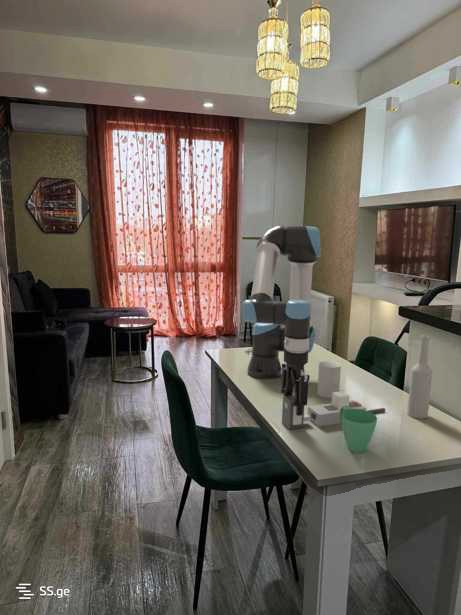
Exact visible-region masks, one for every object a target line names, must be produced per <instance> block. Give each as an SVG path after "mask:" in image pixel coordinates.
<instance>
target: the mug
mask: <svg viewBox="0 0 461 615" xmlns="http://www.w3.org/2000/svg"><path fill="white" fill-rule="evenodd" d="M341 422H342V423H341V425H342V432H343V435H344V440H345V444H346V446H347V448H348V450H349V451H351V452H354V453H361V454H362V453H364V452H365V451H366V449H367V448H368V446H369V444H370V442H371V439H372V437H373V435H374V432H375V429H376V426H377V422H378V417H377V416H376V414H375V413H371V412H368V411H365V410H361V409H351V408H350V407H349V406H343V407H342V409H341Z"/></svg>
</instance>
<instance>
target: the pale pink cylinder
mask: <svg viewBox="0 0 461 615" xmlns="http://www.w3.org/2000/svg"><path fill="white" fill-rule="evenodd" d="M341 367H342V365H341V363H339V362H336V361H330V360H329V361H328V360H326V361H325V360H323V361H320V362H319V363H318V373H317V374H318V377H317V393H316V394H317V395H318V396H319V397H321V398H325V399H332V393H333V392H340V387H341V386H340V384H341V370H342V368H341Z"/></svg>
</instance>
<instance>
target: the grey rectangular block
mask: <svg viewBox="0 0 461 615" xmlns="http://www.w3.org/2000/svg"><path fill="white" fill-rule="evenodd" d="M293 404H295V394H293V395H291V396H284V395H283V396H282V409H281V410H282V414H281V424H282V425H284V426H285V427H286V428H287V429H288V430H293V429H300V428H304V422H310V421H311V420H310V416H309V415H308V413H305V406H303V409H302V422H301V424H298V425H293V408H294V405H293Z"/></svg>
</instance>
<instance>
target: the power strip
mask: <svg viewBox="0 0 461 615" xmlns="http://www.w3.org/2000/svg"><path fill="white" fill-rule="evenodd" d="M349 407H350V408H351V409H361V410H365V411H368V412H371V413H373V414H376V413H383V412H386V408H385V407H380V408H375V409H369V410H367V408H366V407H365V406H363V405H362V403H360V402H359V401H357V400H349ZM307 415H309V416H310V421H311V422H312V423H314V424H315V425H316V426H317V427H325V426H331V425H337V424H342V422H341V410H338V409H337V408H336V407H334V406H332V402H331V403H322V404H316V405H310V406H309V405H308V406H307Z"/></svg>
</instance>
